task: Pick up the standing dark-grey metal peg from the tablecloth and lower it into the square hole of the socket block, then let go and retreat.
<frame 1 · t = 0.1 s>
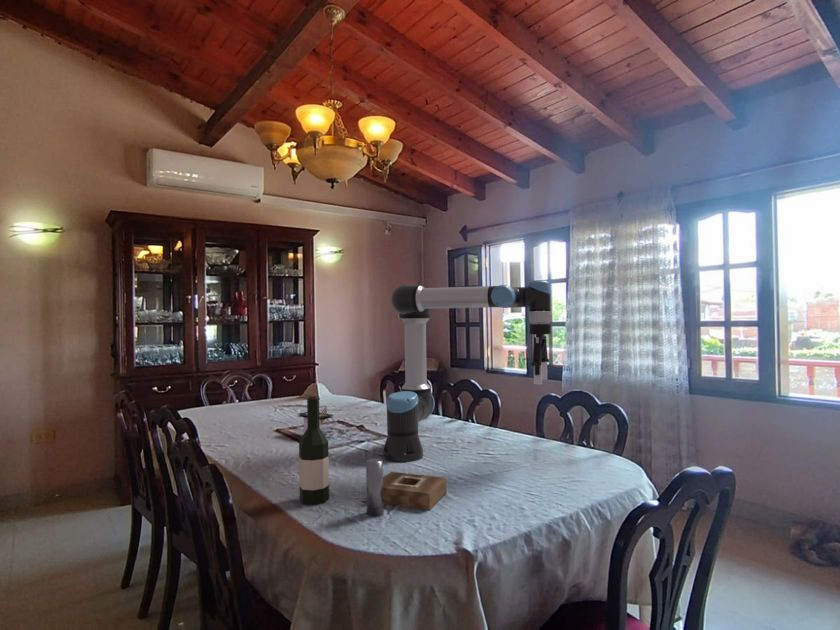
hand: (540, 381, 185), 28 cm above the table, fingers open, 13 cm apart
socket: (409, 497, 148), on the table
wine bottle: (314, 500, 147), on the table
architectural model: (315, 438, 224), on the table
peg: (375, 513, 136), on the table
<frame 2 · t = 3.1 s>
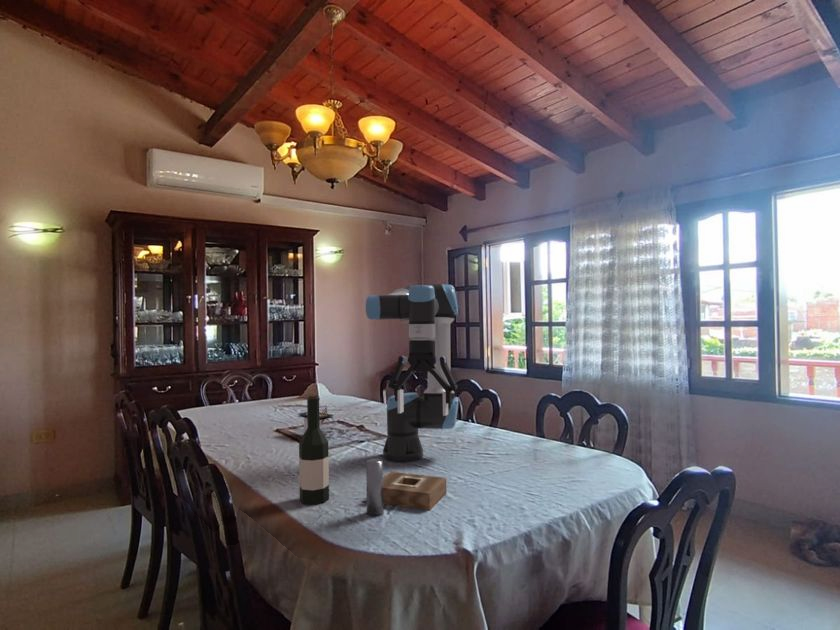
hand: (422, 414, 145), 25 cm above the table, fingers open, 13 cm apart
nothing on the table moved.
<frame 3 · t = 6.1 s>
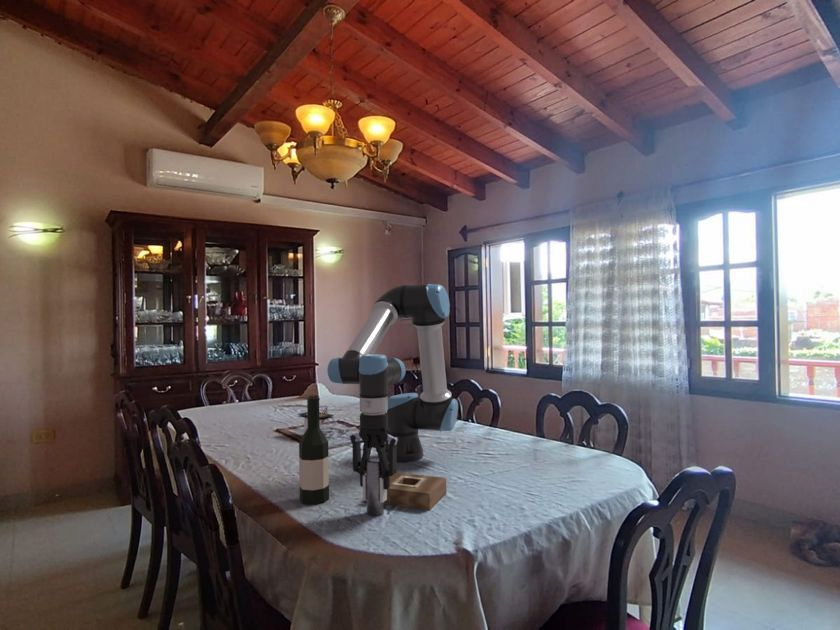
hand: (375, 499, 136), 4 cm above the table, fingers closed on peg, 4 cm apart
peg: (375, 513, 136), on the table, touching gripper
everything else where it was.
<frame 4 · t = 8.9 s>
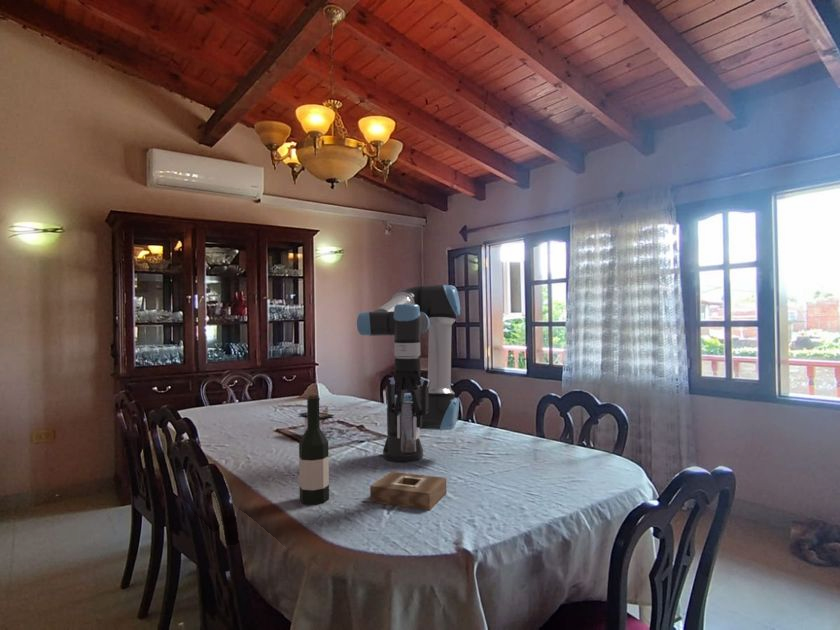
hand: (408, 437, 148), 17 cm above the table, fingers closed on peg, 4 cm apart
peg: (408, 450, 148), point 14 cm above the table, touching gripper
everything else where it was.
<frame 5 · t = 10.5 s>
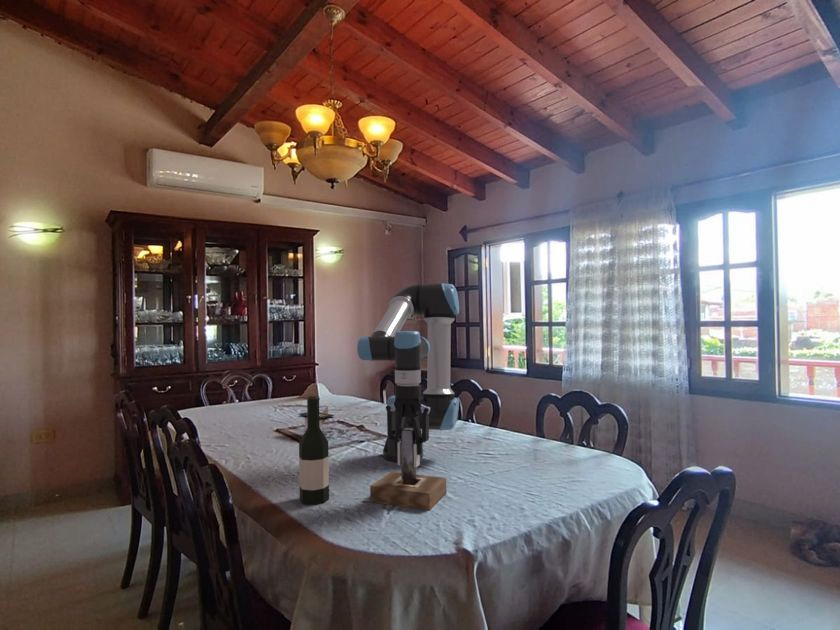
hand: (408, 464, 148), 10 cm above the table, fingers closed on peg, 4 cm apart
peg: (408, 477, 148), point 6 cm above the table, touching gripper
everything else where it was.
when the fingers open (6 cm above the table, at t = 11.6 s): peg drops 2 cm, resting on socket.
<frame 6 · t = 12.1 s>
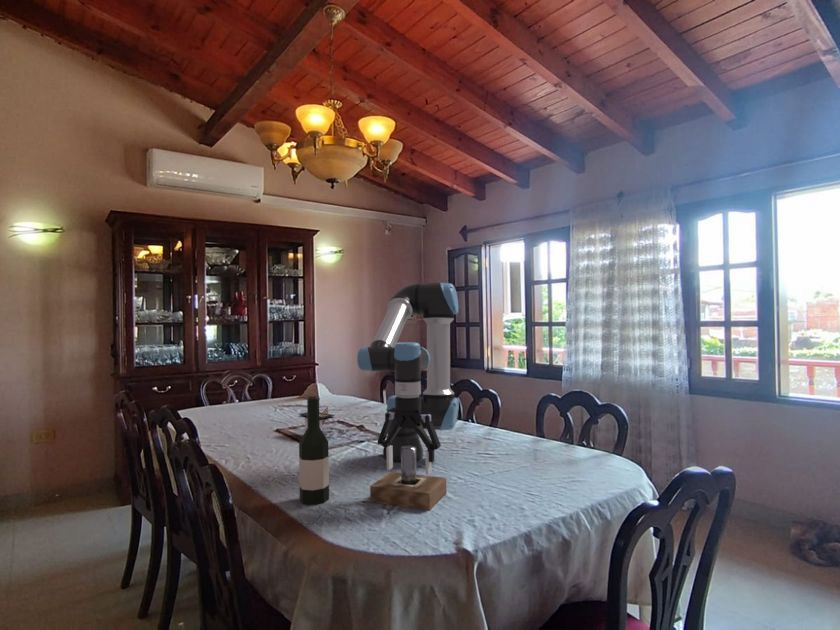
hand: (408, 470, 148), 8 cm above the table, fingers open, 11 cm apart
peg: (408, 495, 148), point 1 cm above the table, touching socket
everything else where it was.
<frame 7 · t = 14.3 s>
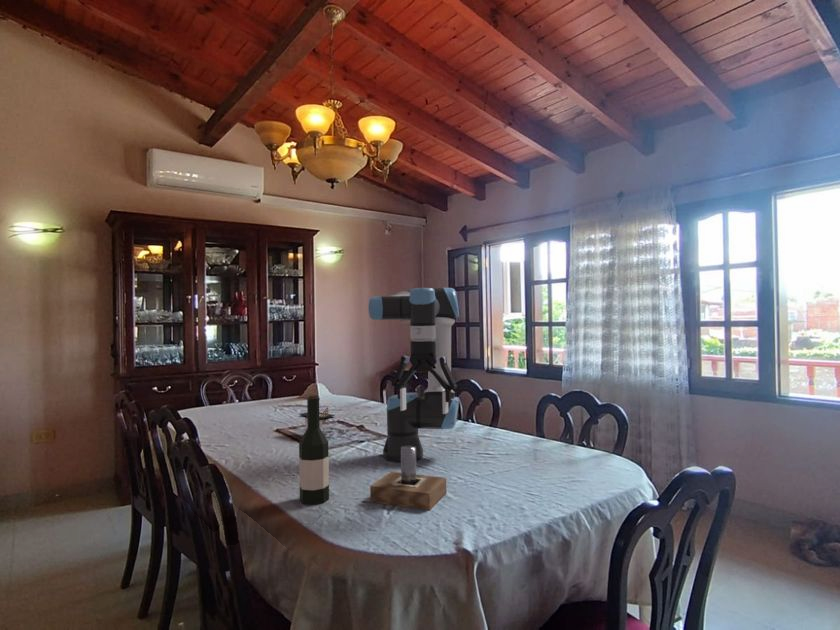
hand: (424, 411, 151), 24 cm above the table, fingers open, 13 cm apart
nothing on the table moved.
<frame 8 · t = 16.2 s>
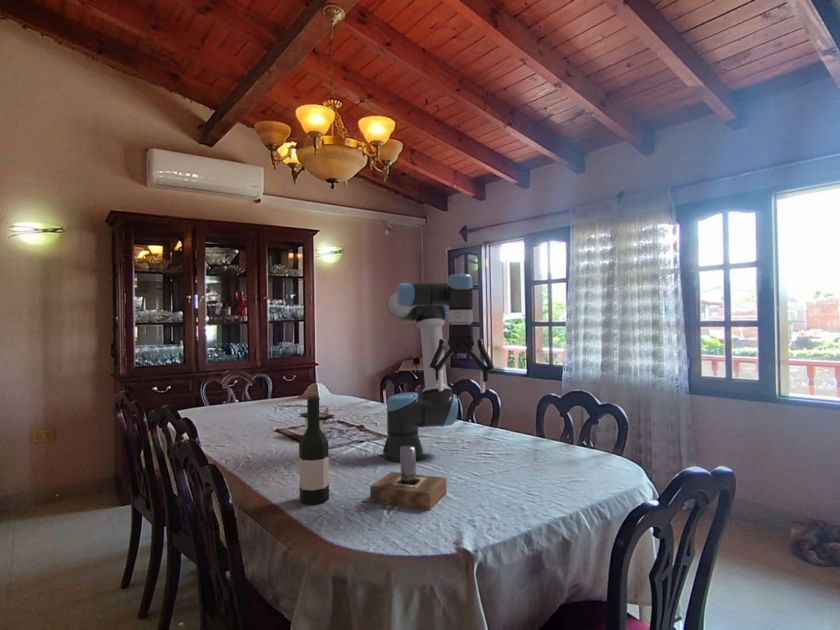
hand: (461, 391, 159), 29 cm above the table, fingers open, 13 cm apart
at the end: peg 0.1 cm off-centre on the socket, point 0.5 cm above the socket's base; peg tilted 1°; the gripper is holding nothing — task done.
